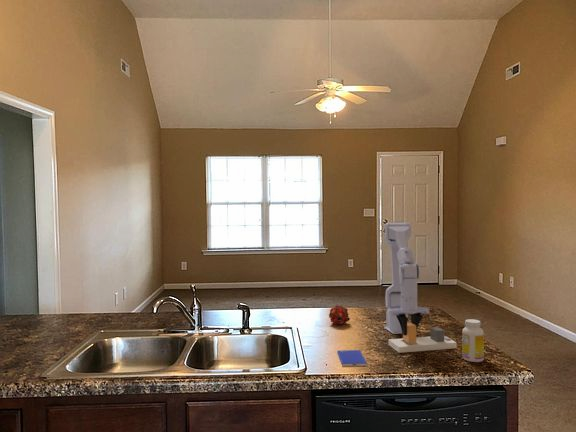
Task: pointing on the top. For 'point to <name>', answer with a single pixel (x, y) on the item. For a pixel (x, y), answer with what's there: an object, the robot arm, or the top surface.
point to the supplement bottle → (473, 341)
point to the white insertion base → (424, 342)
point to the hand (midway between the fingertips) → (409, 334)
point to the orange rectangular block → (410, 333)
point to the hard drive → (351, 358)
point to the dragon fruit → (339, 315)
